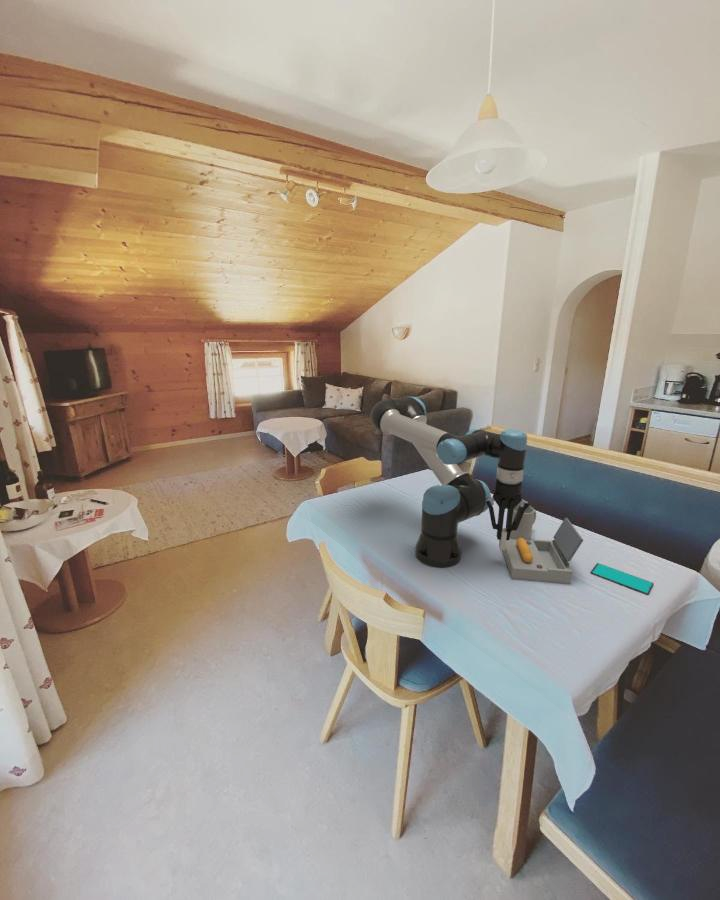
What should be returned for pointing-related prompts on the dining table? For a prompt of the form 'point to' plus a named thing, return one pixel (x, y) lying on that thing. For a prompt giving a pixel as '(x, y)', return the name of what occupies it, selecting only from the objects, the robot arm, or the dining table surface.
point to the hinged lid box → (537, 562)
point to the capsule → (524, 550)
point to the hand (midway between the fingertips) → (501, 548)
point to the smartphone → (622, 578)
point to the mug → (524, 524)
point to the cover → (567, 541)
